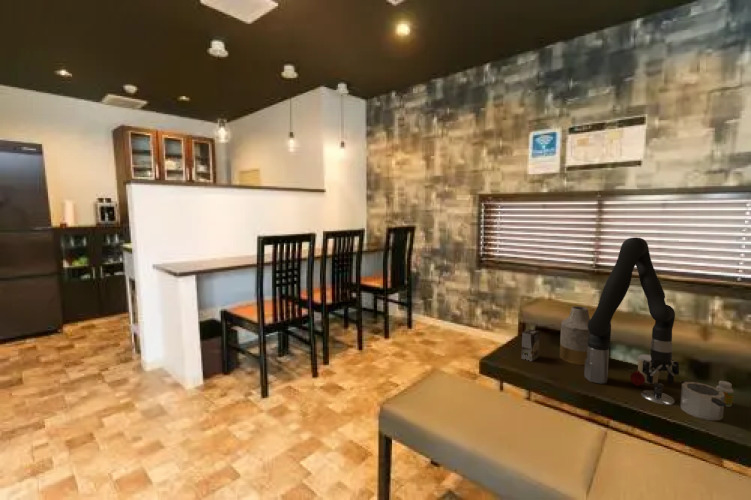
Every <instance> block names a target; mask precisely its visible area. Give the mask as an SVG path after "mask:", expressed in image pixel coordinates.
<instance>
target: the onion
mask: <svg viewBox="0 0 751 500" xmlns="http://www.w3.org/2000/svg"><path fill="white" fill-rule="evenodd" d="M629 377H630V381H631V383H633V384H634V385H635V386H636V387H639V386H642V385H644V384H645V378H644V376H643V375H642V374H641V373H640V372H639V370H638V369H637V370H635V371H633V372H632V373H631V374H630V376H629Z"/></svg>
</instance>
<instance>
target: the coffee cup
mask: <svg viewBox="0 0 751 500" xmlns="http://www.w3.org/2000/svg"><path fill="white" fill-rule="evenodd" d="M644 360H646V361H651V354H642V353H641V354H638V355H637V370H639V372H640V373H641V374H642V375H643V376H644V378H645V382H644V384H650V383H649V382H648V381H647V375H646V374H645V373H643V372H642V370H643V361H644ZM650 366H651V365H650ZM650 366H649V367H650ZM653 370H654V368H653ZM651 372H652V371H651ZM659 378H660V371H657V372H656V373H654V375H653V383H654V382H657V383H659V382H658V381H659ZM650 385H651V384H650Z"/></svg>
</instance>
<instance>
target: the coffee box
mask: <svg viewBox="0 0 751 500" xmlns="http://www.w3.org/2000/svg"><path fill="white" fill-rule="evenodd" d="M521 337H522V338H521V358H520V359H521V360H525V359H526V360H525V361H528V360H529V362H533V361H535V360H537V359H538V358H539V352H540V351H539V348H540V345H539V344H540V331H539V330H536V329H531V328H529V329H526V330H524V331H523V332H522V336H521Z"/></svg>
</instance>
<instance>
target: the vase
mask: <svg viewBox="0 0 751 500" xmlns="http://www.w3.org/2000/svg"><path fill="white" fill-rule="evenodd" d="M590 319H591V316H590V314H589V309H588V307H585V306H580V305H579V306H578V305H575V306H571V309H570V312H569V315H568V317H567V318H565V319H563V320H561V322H560V338H559V339H560V340H559V341H560V342H559V358H560V359H561V360H563V361H564V362H566V363H569V364H573V365H576V366H577V365H578V366H583V367H585V359H587V349H588V339H589V330H588V322H589V320H590Z"/></svg>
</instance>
